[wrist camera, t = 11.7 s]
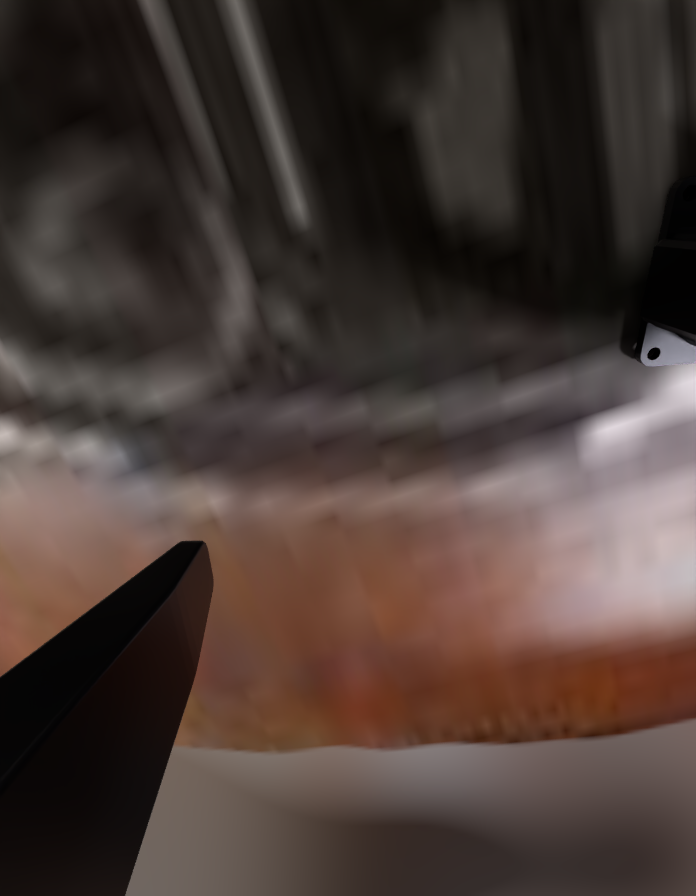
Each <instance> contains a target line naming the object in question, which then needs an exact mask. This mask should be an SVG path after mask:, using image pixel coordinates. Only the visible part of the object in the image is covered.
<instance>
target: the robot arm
mask: <svg viewBox="0 0 696 896" xmlns="http://www.w3.org/2000/svg"><path fill="white" fill-rule="evenodd" d="M687 186H689V188H690V195H689V197H688V198H687V199H686V200H685V201H684V199H683V192H684V190H685V188H686V187H687ZM640 315H641V317H642V321H641V326H640V331H639V336H638V341H637V345H636V350H635V358H636V360H637V361H638V362H640V363H642V364H644V365H646V366H663V365H677V364H692V363H696V176H690V177H684V178H681V179H679V180H678V181H676V182H675V183H674V184H673V186H672V187H671V188H670V191H669V193H668V197H667V202H666V206H665V211H664V216H663V221H662V226H661V230H660V235H659V240H658V244H657V245H656V246H655V247H654V250H653V255H652V260H651V265H650V270H649V274H648V279H647V284H646V289H645V294H644V299H643V304H642V308H641V313H640ZM652 348H654V353H653V354H652V355H651V356H650V357H647V354H648V352H649V350H650V349H652ZM212 592H213V574H212V568H211V563H210V558H209V553H208V548H207V545H206V543H205V542H203V541H181V542H179V543H178V544H176V545H175V546H174V547H172V548H171V549H170V550H168V551H167V552H166V553H164V554H163V555H162V556H160V557H159V558H158V559H156V560H155V561H154V562H152V563H151V564H150V565H148V566H147V567H146V568H144V569H143V570H142V571H140V572H139V573H138V574H136V575H135V576H134V577H132V578H131V579H130V580H128V581H127V582H126V583H124V584H123V585H122V586H120V587H119V588H118V589H116V590H115V591H114V592H112V593H111V594H110V595H108V596H107V597H106V598H104V599H103V600H102V601H100V602H99V603H98V604H96V605H95V606H94V607H93V608H91V609H90V610H89V611H87V612H86V613H85V614H83V615H82V616H81V617H79V618H78V619H77V620H75V621H74V622H73V623H71V624H70V625H69V626H67V627H66V628H65V629H63V630H62V631H61V632H59V633H58V634H57V635H55V636H54V637H53V638H51V639H50V640H49V641H47V642H46V643H45V644H43V645H42V646H41V647H39V648H38V649H37V650H35V651H34V652H33V653H31V654H30V655H29V656H27V657H26V658H25V659H23V660H22V661H21V662H19V663H18V664H17V665H15V666H14V667H13V668H11V669H10V670H9V671H7V672H6V673H5V674H3V675H2V676H1V677H0V896H125V894H126V891H127V888H128V885H129V882H130V879H131V875H132V872H133V869H134V866H135V863H136V860H137V857H138V854H139V851H140V847H141V844H142V841H143V838H144V835H145V832H146V829H147V826H148V822H149V819H150V816H151V813H152V810H153V807H154V804H155V801H156V797H157V794H158V791H159V788H160V785H161V782H162V779H163V776H164V773H165V769H166V766H167V763H168V760H169V757H170V753H171V751H172V748H173V745H174V741H175V738H176V735H177V732H178V729H179V726H180V723H181V720H182V716H183V713H184V710H185V707H186V704H187V701H188V698H189V695H190V692H191V688H192V685H193V682H194V678H195V675H196V671H197V666H198V662H199V657H200V652H201V647H202V642H203V637H204V632H205V627H206V622H207V617H208V612H209V607H210V602H211V597H212Z"/></svg>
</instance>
